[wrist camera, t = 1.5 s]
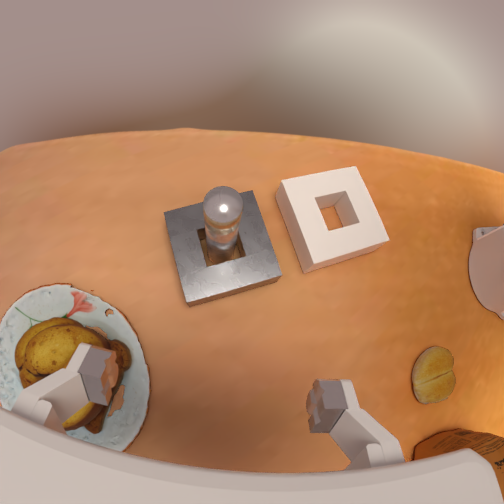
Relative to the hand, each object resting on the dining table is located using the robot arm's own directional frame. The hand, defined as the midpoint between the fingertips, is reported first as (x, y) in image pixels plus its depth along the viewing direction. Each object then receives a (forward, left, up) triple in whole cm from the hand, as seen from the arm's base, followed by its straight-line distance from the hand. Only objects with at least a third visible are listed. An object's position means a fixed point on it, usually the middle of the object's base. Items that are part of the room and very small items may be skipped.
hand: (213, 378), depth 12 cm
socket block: (-5, -13, -28) cm, 32 cm away
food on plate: (+21, -2, -29) cm, 36 cm away
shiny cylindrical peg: (-5, -13, -28) cm, 32 cm away
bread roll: (-30, +15, -29) cm, 44 cm away
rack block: (-21, -13, -28) cm, 38 cm away
